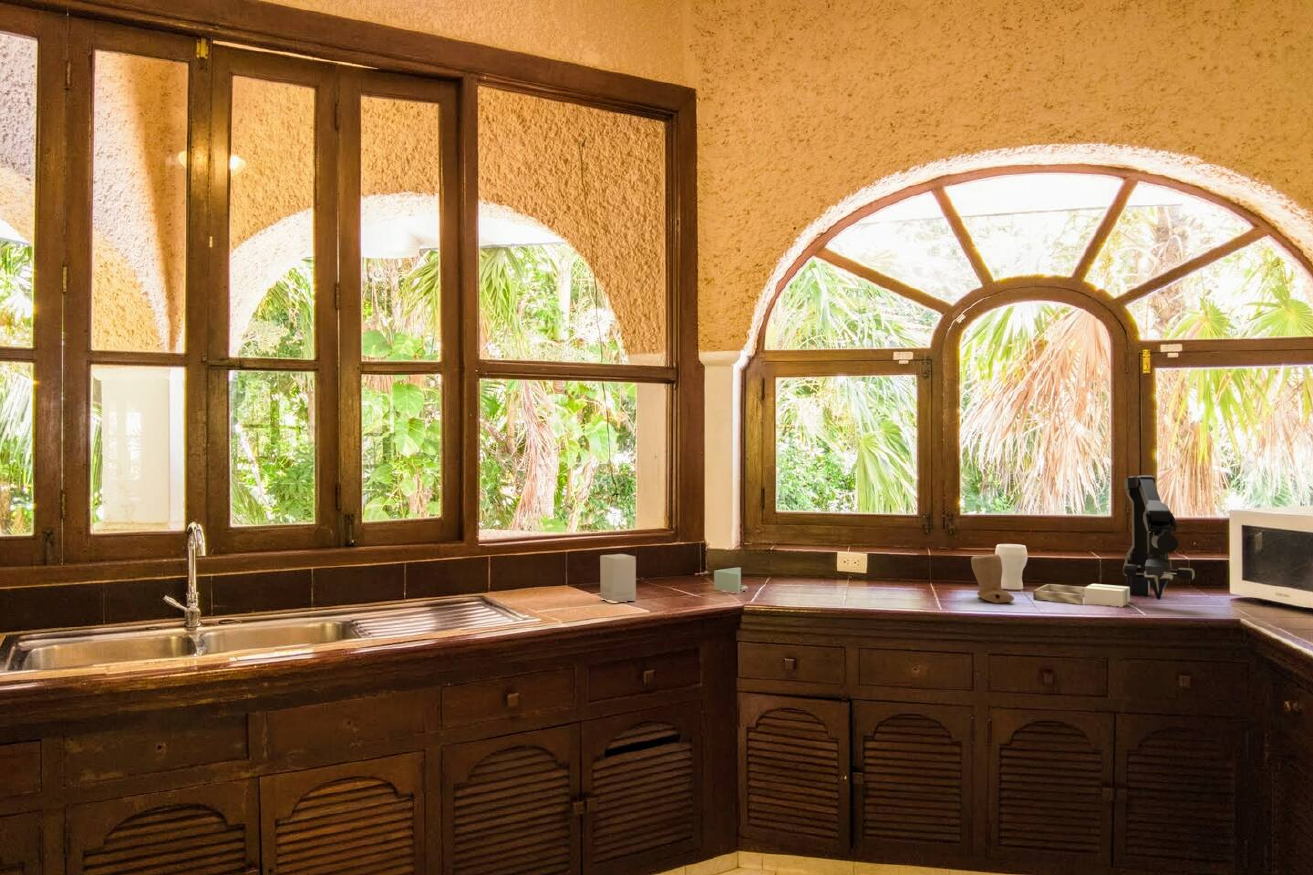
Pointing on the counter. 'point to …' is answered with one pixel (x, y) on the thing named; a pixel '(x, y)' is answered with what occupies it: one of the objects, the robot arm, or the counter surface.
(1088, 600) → the carton
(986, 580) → the brown boot
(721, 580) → the sage green wedge block
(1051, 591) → the tan tray
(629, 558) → the supplement box
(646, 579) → the counter surface
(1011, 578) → the cup
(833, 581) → the counter surface
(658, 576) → the counter surface
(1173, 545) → the robot arm
